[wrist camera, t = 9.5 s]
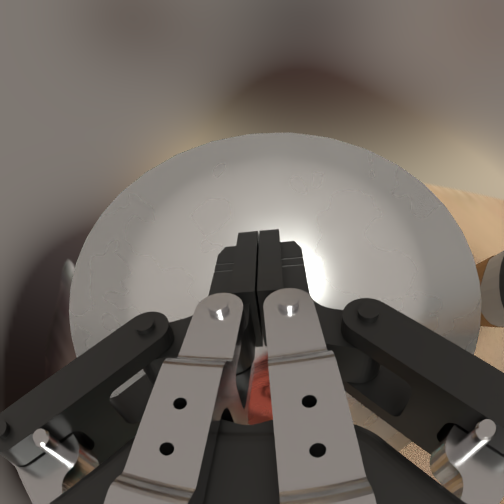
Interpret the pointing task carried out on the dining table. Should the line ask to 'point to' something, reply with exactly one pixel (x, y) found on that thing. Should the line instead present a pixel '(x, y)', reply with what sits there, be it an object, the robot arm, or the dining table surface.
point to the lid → (290, 229)
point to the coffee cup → (492, 290)
